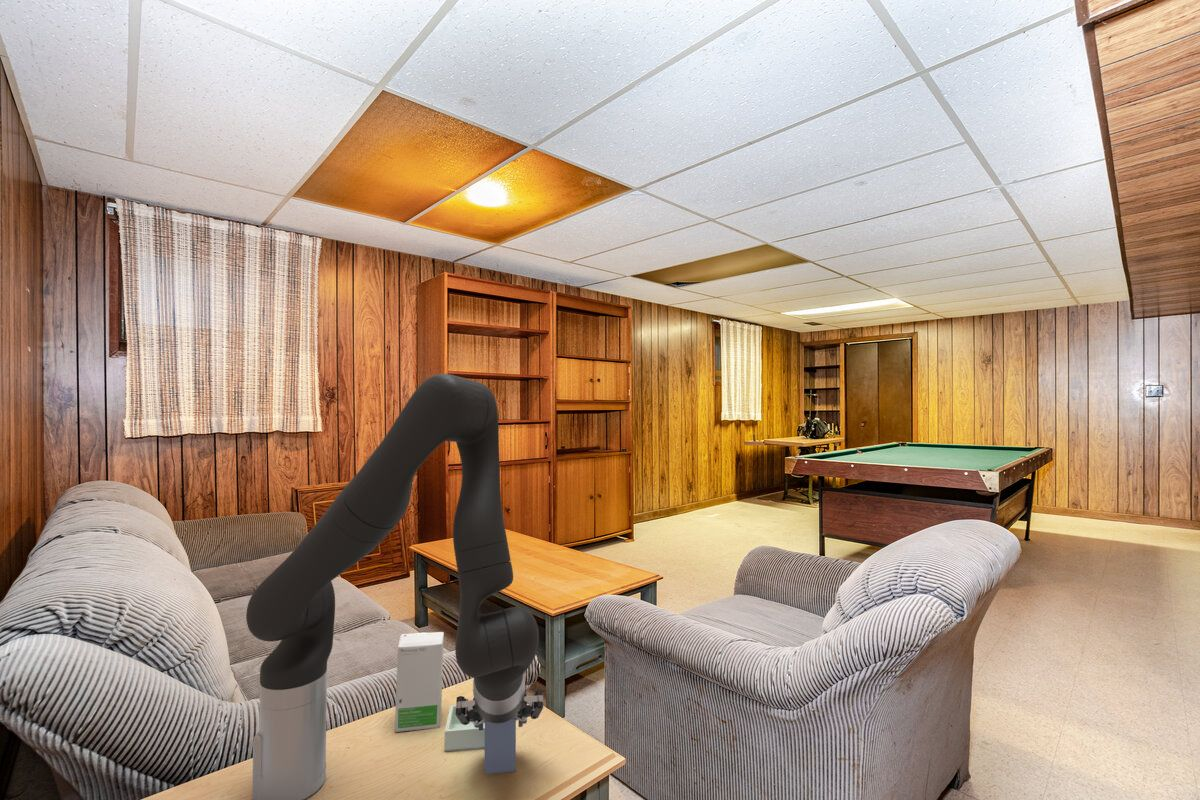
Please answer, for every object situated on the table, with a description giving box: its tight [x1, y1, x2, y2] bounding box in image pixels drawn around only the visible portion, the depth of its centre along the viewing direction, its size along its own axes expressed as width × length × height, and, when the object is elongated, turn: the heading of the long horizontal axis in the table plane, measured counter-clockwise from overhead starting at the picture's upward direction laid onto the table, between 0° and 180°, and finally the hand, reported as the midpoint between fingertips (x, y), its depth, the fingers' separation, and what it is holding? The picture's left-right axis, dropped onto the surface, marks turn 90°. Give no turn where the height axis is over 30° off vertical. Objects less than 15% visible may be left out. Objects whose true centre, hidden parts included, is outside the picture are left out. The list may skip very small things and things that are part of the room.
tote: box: [444, 704, 485, 753], centre depth 99 cm, size 10×9×4 cm
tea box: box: [483, 719, 517, 775], centre depth 92 cm, size 5×5×12 cm
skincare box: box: [394, 631, 445, 733], centre depth 104 cm, size 8×7×16 cm
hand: (500, 722), depth 93 cm, fingers open, 6 cm apart
